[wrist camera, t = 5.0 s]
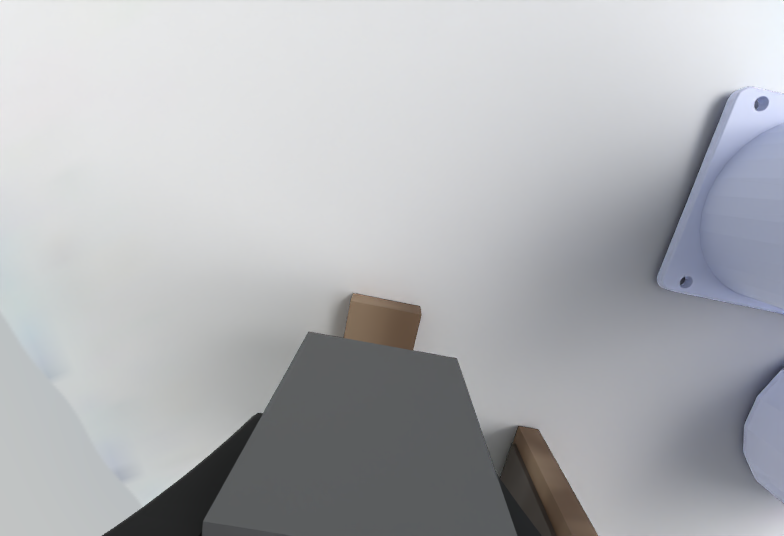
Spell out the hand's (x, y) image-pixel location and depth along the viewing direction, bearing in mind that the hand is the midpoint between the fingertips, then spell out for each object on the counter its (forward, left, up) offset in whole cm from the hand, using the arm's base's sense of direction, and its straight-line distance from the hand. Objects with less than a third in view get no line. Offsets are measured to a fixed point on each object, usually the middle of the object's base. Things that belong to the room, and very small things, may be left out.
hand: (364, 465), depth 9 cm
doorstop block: (0, 0, -2) cm, 2 cm away
